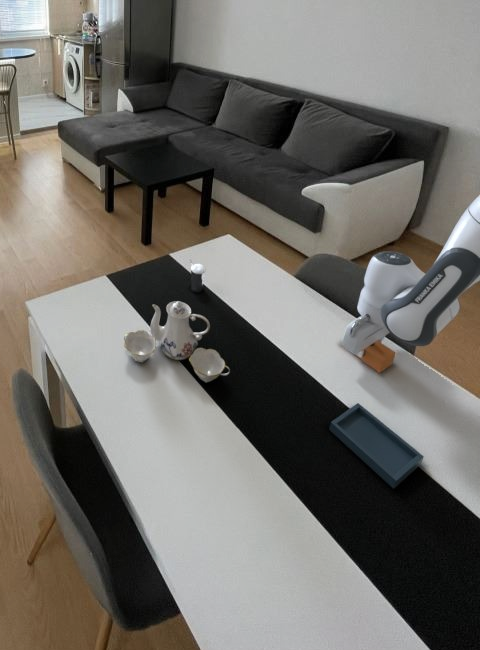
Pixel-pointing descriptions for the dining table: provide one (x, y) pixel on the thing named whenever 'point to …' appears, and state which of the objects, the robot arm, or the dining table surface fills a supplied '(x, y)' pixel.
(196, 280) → the milkshake
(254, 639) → the dining table surface
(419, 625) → the dining table surface
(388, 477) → the dark blue rectangular tray
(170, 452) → the dining table surface
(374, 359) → the orange rectangular block
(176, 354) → the chinaware
